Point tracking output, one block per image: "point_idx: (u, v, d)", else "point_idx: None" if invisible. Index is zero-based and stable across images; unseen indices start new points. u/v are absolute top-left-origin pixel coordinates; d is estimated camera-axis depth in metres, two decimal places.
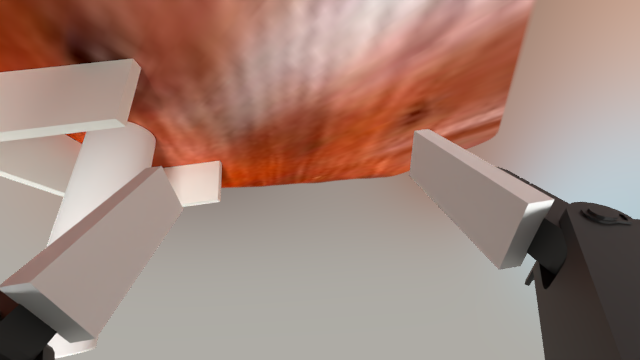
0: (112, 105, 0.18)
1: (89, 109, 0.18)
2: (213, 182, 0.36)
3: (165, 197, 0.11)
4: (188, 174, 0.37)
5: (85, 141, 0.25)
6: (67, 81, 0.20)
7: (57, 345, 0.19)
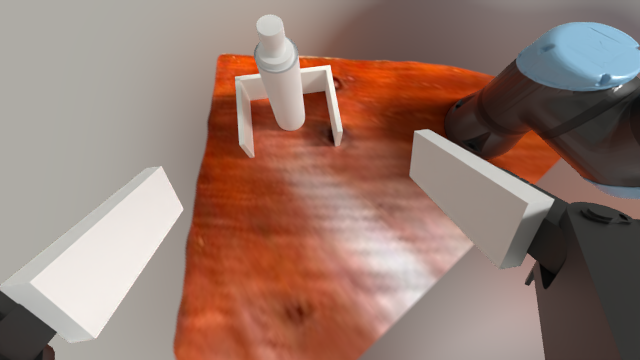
0: None
1: None
2: (249, 146, 0.46)
3: (165, 197, 0.11)
4: (250, 133, 0.49)
5: None
6: None
7: (283, 33, 0.30)
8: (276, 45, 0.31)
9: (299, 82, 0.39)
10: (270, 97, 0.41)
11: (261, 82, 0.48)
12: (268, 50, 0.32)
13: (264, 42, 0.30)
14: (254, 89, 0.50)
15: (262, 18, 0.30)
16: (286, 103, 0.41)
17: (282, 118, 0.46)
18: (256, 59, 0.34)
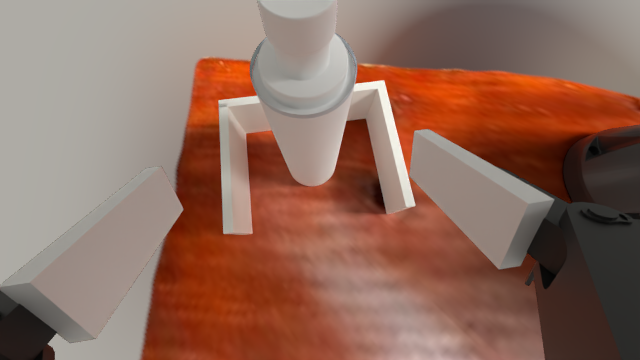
0: None
1: None
2: (242, 225, 0.26)
3: (165, 197, 0.11)
4: (246, 194, 0.29)
5: None
6: None
7: (336, 12, 0.10)
8: (313, 49, 0.11)
9: None
10: (283, 149, 0.21)
11: None
12: (287, 61, 0.12)
13: (279, 40, 0.10)
14: (252, 119, 0.30)
15: None
16: (314, 160, 0.21)
17: (301, 175, 0.26)
18: (255, 81, 0.14)
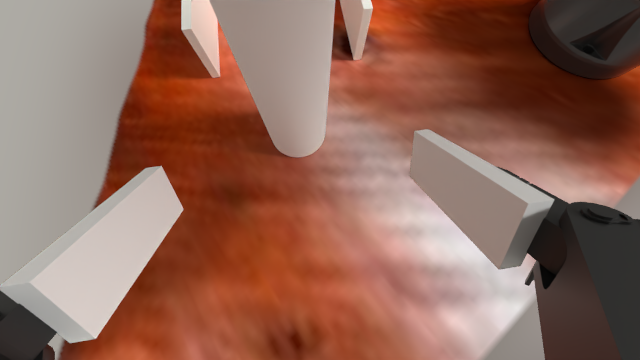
0: None
1: None
2: (205, 47, 0.26)
3: (165, 197, 0.11)
4: (212, 34, 0.29)
5: None
6: None
7: None
8: None
9: (329, 50, 0.14)
10: (253, 91, 0.16)
11: None
12: None
13: None
14: None
15: None
16: (293, 104, 0.16)
17: (282, 136, 0.22)
18: None
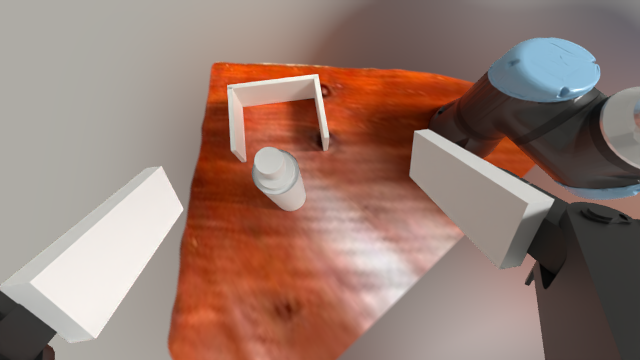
0: None
1: None
2: (240, 152, 0.48)
3: (165, 197, 0.11)
4: (242, 138, 0.51)
5: None
6: None
7: (283, 164, 0.28)
8: (276, 176, 0.29)
9: (300, 187, 0.37)
10: None
11: (252, 90, 0.51)
12: None
13: (263, 175, 0.28)
14: (246, 97, 0.52)
15: (260, 151, 0.28)
16: (286, 203, 0.39)
17: (282, 207, 0.44)
18: (254, 177, 0.32)
